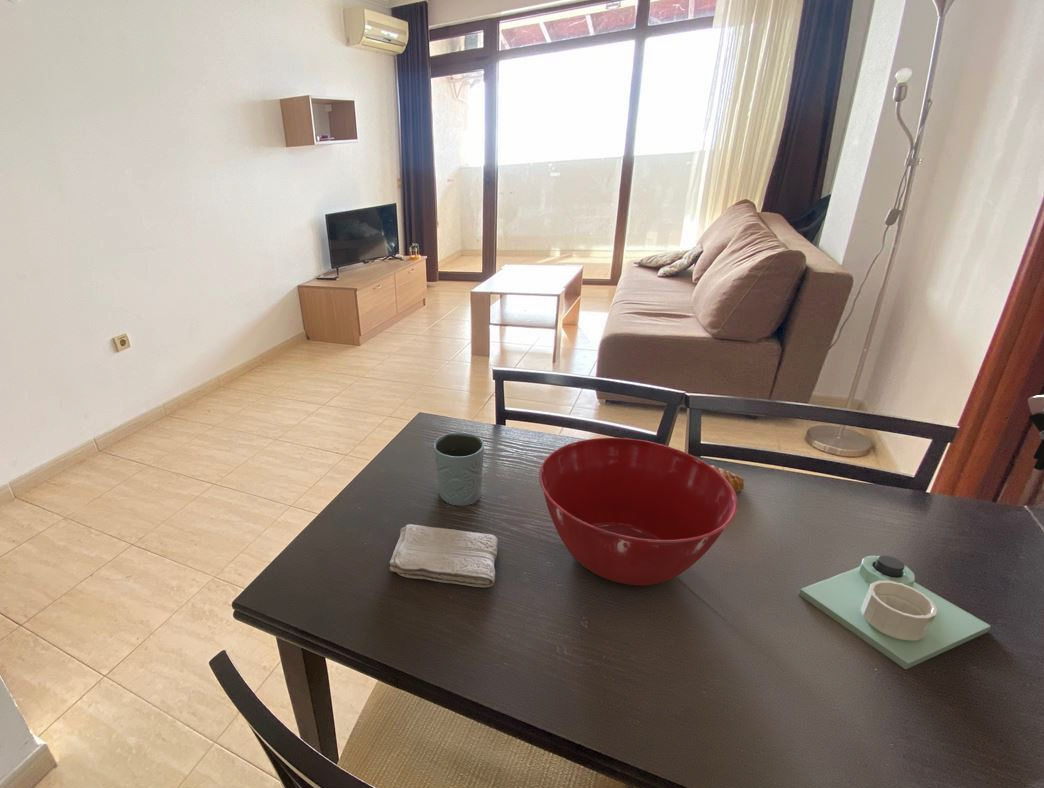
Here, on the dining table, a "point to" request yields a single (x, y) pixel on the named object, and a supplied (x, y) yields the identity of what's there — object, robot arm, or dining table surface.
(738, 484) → the pastry
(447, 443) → the grey green cup
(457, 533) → the washcloth
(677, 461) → the mixing bowl
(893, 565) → the button
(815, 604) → the scale
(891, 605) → the bowl
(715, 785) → the dining table surface
